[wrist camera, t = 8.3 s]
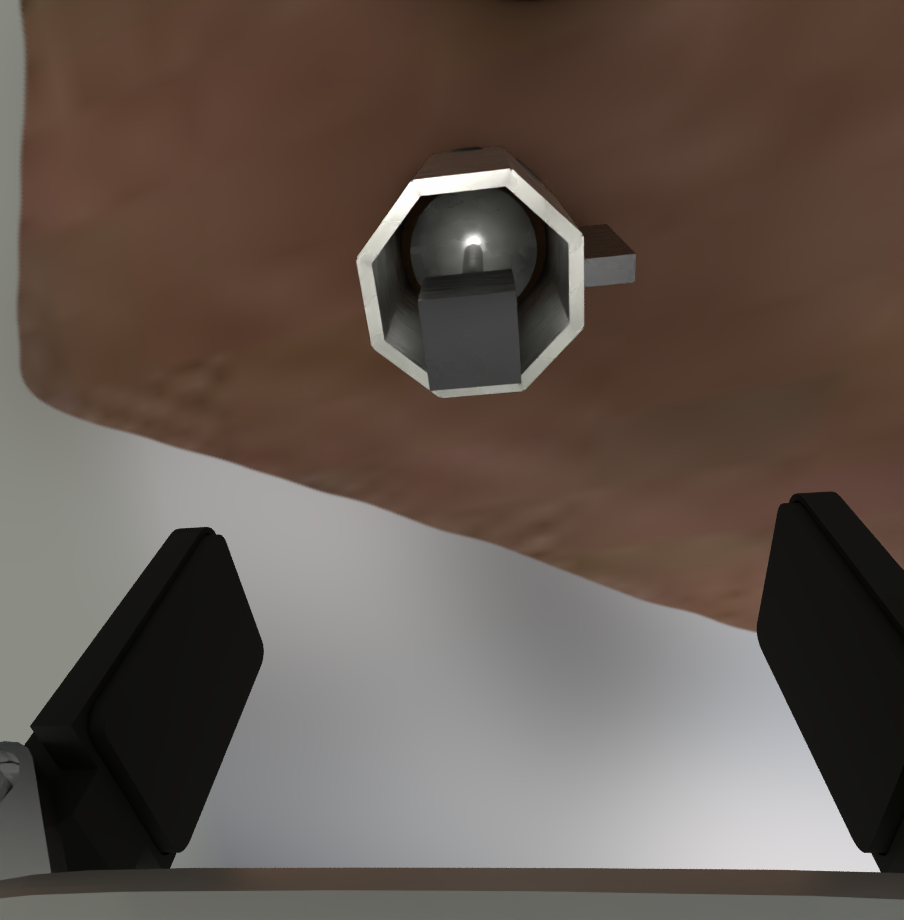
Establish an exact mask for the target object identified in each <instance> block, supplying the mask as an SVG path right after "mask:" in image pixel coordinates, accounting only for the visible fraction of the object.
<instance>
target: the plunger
mask: <svg viewBox="0 0 904 920" xmlns="http://www.w3.org/2000/svg"><path fill="white" fill-rule="evenodd" d="M410 253H411V262H412V267H413V271H414V274H415V277H416V279H417V281H418V283H419V285H420V286H421V290H420V294H419V297H418V301H417V302H418V309H419V316H420V323H421V331H422V338H423V345H424V352H425V360H426V367H427V374H428V381H429V389H430V391H437V390H449V389H460V388H472V387H483V386H495V385H506V384H518V383H521V365H520V348H519V331H518V314H517V297H518V296H519V295H520V294H521V293H522V291H523V290H524V289H525V287H526V286H527V284H528V282H529V281H530V278H531V276H532V274H533V271H534V267H535V264H536V257H537V243H536V236H535V232H534V229H533V226H532V224H531V221H530V219H529V217H528V215H527V213H526V212H525V210H524V209H523V207H522V206H521V205H520V204H519V203H518V202H517V201H516V200H515V199H514V198H513V197H512V196H511V195H509V194H508V193H506V192H504V191H503V190H501V189H499V188H496V187H495V188H486V189H477V190H469V191H460V192H451V193H442V194H439V195H438V196H437V197H435V198H434V199H433V200H432V201H431V202H430V203H429V204H428V205H427V207H426V208H425V209H424V211H423V212H422V214H421V215H420V217H419V219H418V221H417V223H416V226H415V228H414V231H413V235H412V240H411V250H410Z"/></svg>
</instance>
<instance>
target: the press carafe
mask: <svg viewBox="0 0 904 920" xmlns="http://www.w3.org/2000/svg"><path fill="white" fill-rule="evenodd" d="M495 187H496V188H499V189H501V190H503V191H504V192H506V193H508V194H509V195H511V196H512V197H513V198H514V199H515V200H516V201H517V202H518V203H519V204H520V205H521V206H522V207H523V209H524V210H525V212H526V213H527V215H528V217H529V219H530V221H531V224H532V226H533V229H534V232H535V236H536V243H537V257H536V264H535V267H534V271H533V274H532V276H531V278H530V281H529V282H528V284H527V286H526V287H525V289H524V290H523V291H522V293H521V294H520V295H519V296H518V297H517V314H518V331H519V348H520V365H521V383H518V384H506V385H495V386H483V387H472V388H460V389H449V390H437V391H431V392H433V393H434V394H435V395H437V396H438V397H440V396H441V398H447V397H459V396H471V395H483V394H494V393H506V392H518V391H523V389H524V390H525V389H526V388H527V387H528V386H529V385H530V384H531V383H532V382H533V381H534V380H535V379H536V378H537V377H538V376H539V375H540V374H541V372H542V371H543V370H544V369H545V368H546V367H547V366H548V365H549V364H550V363H551V362H552V361H553V360H554V359H555V358H556V357H557V356H558V355H559V354H560V352H561V351H562V350H563V349H564V348H565V347H566V346H567V345H568V344H569V343H570V342H571V341H572V340H573V339H574V338H575V337H576V336H577V335H578V334H579V333H580V331H581V330H582V329H583V327H584V287H592V286H602V285H612V284H622V283H633V282H635V264H636V254H635V253H634V251H633V250H632V249H631V248H630V247H629V246H628V245H627V244H626V243H625V242H624V241H623V240H622V239H621V238H620V237H619V236H618V235H617V234H616V233H615V232H614V231H613V230H612V229H611V228H610V227H609V226H608V225H607V224H603V225H594V226H585V227H577V226H576V224H575V223H574V222H573V220H572V219H571V218H570V216H569V215H568V214H567V212H566V211H565V210H564V208H563V207H562V206H561V204H560V203H559V202H558V200H557V199H556V198H555V196H554V195H553V194H552V192H551V191H550V190H548V189H547V188H546V187H545V186H544V185H543V184H542V183H541V182H540V181H539V180H538V178H537V177H536V176H535V175H534V174H533V173H532V172H531V171H530V169H529V168H527V167H526V166H525V165H524V164H522V163H521V162H520V161H518V160H517V159H515V158H514V157H513V156H512V155H511V154H510V153H508V152H507V151H506V150H505V149H504V148H503V147H500V146H494V147H485V148H480V147H472V148H462V149H457V150H453V151H450V152H444V153H435V154H432V155H430V157H429V158H428V159H427V161H426V162H425V163H424V165H423V166H422V167H421V169H420V170H419V171H418V172H417V173H416V175H415V176H414V177H413V178H412V179H411V181H410V182H409V183H408V185H407V186H406V188H405V190H404V191H403V193H402V194H401V196H400V197H399V199H398V200H397V202H396V203H395V204H394V206H393V207H392V209H391V210H390V211H389V213H388V214H387V216H386V217H385V218H384V220H383V221H382V223H381V224H380V226H379V227H378V228H377V230H376V231H375V233H374V234H373V235H372V237H371V238H370V240H369V241H368V243H367V244H366V245H365V247H364V248H363V250H362V251H361V252H360V254H359V255H358V257H357V260H356V262H357V268H358V273H359V279H360V284H361V290H362V295H363V301H364V306H365V312H366V317H367V323H368V328H369V334H370V339H371V345H372V346H374V347H373V349H375V350H376V351H377V352H379V353H380V354H381V355H383V356H384V357H385V358H387V359H388V360H389V361H391V362H392V363H394V364H395V365H396V366H398V367H399V368H400V369H402V370H403V371H404V372H406V373H407V374H408V375H410V376H411V377H412V378H414V379H415V380H416V381H418V382H419V383H420V384H422V385H423V386H424V387H426V388H427V389H429V381H428V374H427V367H426V360H425V352H424V345H423V338H422V331H421V323H420V316H419V309H418V302H417V301H418V297H419V294H420V290H421V286H420V285H419V283H418V281H417V279H416V277H415V274H414V271H413V267H412V262H411V253H410V250H411V240H412V235H413V231H414V228H415V226H416V223H417V221H418V219H419V217H420V215H421V214H422V212H423V211H424V209H425V208H426V207H427V205H428V204H429V203H430V202H431V201H432V200H433V199H434V198H435V197H437V196H438V195H439V194H442V193H451V192H460V191H469V190H477V189H486V188H495ZM522 388H523V389H522ZM429 390H430V389H429Z"/></svg>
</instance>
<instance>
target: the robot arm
mask: <svg viewBox="0 0 904 920" xmlns="http://www.w3.org/2000/svg"><path fill="white" fill-rule="evenodd" d="M757 636H758V641H759V644H760V647H761V649H762V652H763V654H764V656H765V658H766V660H767V662H768V664H769V666H770V668H771V670H772V672H773V675H774V677H775V679H776V681H777V683H778V685H779V687H780V689H781V691H782V693H783V695H784V697H785V699H786V702H787V704H788V706H789V708H790V710H791V712H792V714H793V716H794V718H795V720H796V722H797V724H798V726H799V729H800V731H801V733H802V735H803V737H804V739H805V741H806V743H807V745H808V747H809V749H810V751H811V754H812V756H813V757H814V760H815V762H816V764H817V766H818V768H819V770H820V772H821V774H822V776H823V779H824V780H825V783H826V785H827V787H828V789H829V791H830V793H831V795H832V797H833V799H834V801H835V803H836V805H837V808H838V810H839V812H840V814H841V816H842V818H843V820H844V822H845V824H846V826H847V828H848V830H849V833H850V835H851V837H852V839H853V840H854V842H855V844H856V846H857V847H858V848H859V849H860V850H861V851H862V852H864V853H872V855H873V857H874V859H875V861H876V863H877V865H878V867H879V869H880V871H881V873H879V872H877V873H876V872H840V871H839V872H838V871H800V870H730V869H721V870H720V869H607V868H605V869H604V868H176V869H170V867H171V865H172V862H173V860H174V857H175V855H176V853H180V852H182V851H183V850H184V849H185V848H186V847H187V845H188V843H189V841H190V839H191V837H192V834H193V832H194V829H195V827H196V824H197V822H198V820H199V817H200V815H201V812H202V810H203V807H204V805H205V802H206V800H207V797H208V795H209V793H210V790H211V788H212V785H213V783H214V780H215V777H216V775H217V773H218V770H219V768H220V765H221V763H222V761H223V758H224V756H225V753H226V750H227V748H228V746H229V743H230V741H231V738H232V736H233V733H234V731H235V729H236V726H237V723H238V721H239V719H240V716H241V714H242V711H243V709H244V706H245V704H246V701H247V699H248V696H249V694H250V692H251V689H252V687H253V684H254V681H255V679H256V677H257V674H258V672H259V669H260V667H261V664H262V661H263V654H264V649H263V643H262V640H261V637H260V634H259V631H258V629H257V626H256V623H255V620H254V618H253V615H252V612H251V609H250V606H249V604H248V601H247V598H246V595H245V593H244V590H243V587H242V585H241V582H240V579H239V576H238V573H237V571H236V568H235V565H234V562H233V560H232V557H231V554H230V551H229V549H228V546H227V543H226V541H225V539H224V537H223V536H222V535H216V533H215V532H214V530H213V529H212V528H209V527H199V528H182V529H176V530H174V531H173V532H172V533H171V534H170V536H169V537H168V539H167V540H166V541H165V543H164V544H163V546H162V547H161V548H160V550H159V551H158V552H157V554H156V555H155V557H154V558H153V559H152V560H151V562H150V563H149V564H148V566H147V567H146V569H145V570H144V571H143V573H142V574H141V575H140V577H139V578H138V580H137V581H136V582H135V584H134V585H133V587H132V588H131V589H130V590H129V592H128V593H127V595H126V596H125V597H124V599H123V600H122V602H121V603H120V604H119V606H118V607H117V608H116V610H115V611H114V612H113V614H112V615H111V617H110V618H109V619H108V621H107V622H106V623H105V625H104V626H103V627H102V629H101V630H100V631H99V633H98V634H97V636H96V637H95V638H94V640H93V641H92V642H91V644H90V645H89V647H88V648H87V649H86V651H85V652H84V653H83V655H82V656H81V657H80V659H79V660H78V661H77V663H76V664H75V666H74V667H73V668H72V670H71V671H70V672H69V674H68V675H67V677H66V678H65V679H64V681H63V682H62V683H61V685H60V686H59V688H58V689H57V690H56V692H55V693H54V694H53V696H52V697H51V698H50V700H49V701H48V702H47V704H46V705H45V707H44V708H43V709H42V711H41V712H40V713H39V715H38V716H37V718H36V719H35V720H34V722H33V723H32V724H31V726H30V727H31V728H32V730H33V731H34V732H33V734H32V735H31V737H30V738H29V740H28V741H27V742H26V743H25V745H22V744H20V743H19V742H7V741H3V742H0V920H904V570H903V569H902V568H901V567H900V566H899V565H898V563H897V562H896V561H895V560H894V559H893V558H892V556H891V555H890V554H889V553H888V552H887V551H886V549H885V548H884V547H883V546H882V545H881V544H880V542H879V541H878V540H877V539H876V538H875V537H874V535H873V534H872V533H871V532H870V531H869V530H868V528H867V527H866V526H865V525H864V524H863V523H862V521H861V520H860V519H859V518H858V517H857V516H856V514H855V513H854V512H853V511H852V510H851V509H850V507H849V506H848V505H847V504H846V503H845V502H844V500H843V499H842V498H841V497H840V496H839V495H838V494H837V493H835V492H815V493H798V494H794V495H793V496H792V497H791V499H790V501H789V503H783V504H781V505H780V507H779V509H778V513H777V518H776V524H775V529H774V534H773V540H772V545H771V551H770V556H769V562H768V567H767V573H766V578H765V584H764V589H763V595H762V600H761V605H760V611H759V616H758V622H757Z"/></svg>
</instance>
